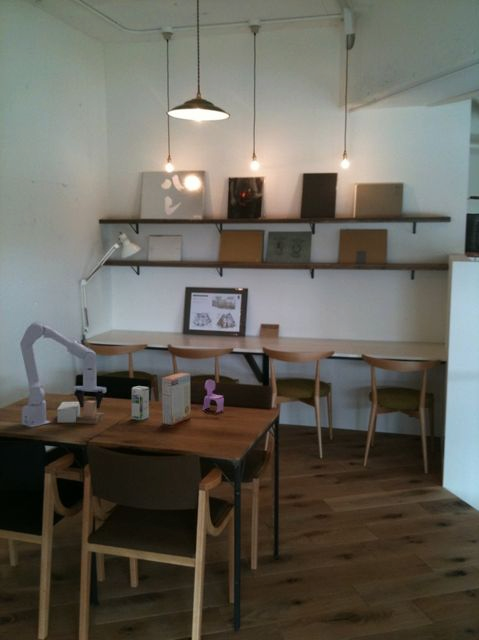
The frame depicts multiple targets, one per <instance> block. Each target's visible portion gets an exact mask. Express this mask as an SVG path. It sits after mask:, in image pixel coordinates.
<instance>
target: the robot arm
mask: <svg viewBox="0 0 479 640" xmlns="http://www.w3.org/2000/svg"><path fill="white" fill-rule="evenodd" d="M41 337H43V339H52V340H54V341H55V342H57V343H59V344H61V345H62V346H64V347H66V350H67V351H66V352H69V353H70V354H72V355H73V356H74V357H76V358H78V359H79V360H80V359H81V360H82V361H83V367H82V383H83V384H82V385H74V386H73V392H74V395H75V396H76V399H77V400H78V401H77V402H79V404H80V409H81V408H84V403H85V402H84V401H85V400H84V398H85V392H87V393H88V392H90V393H95V395H94V396H95V401H96V407H97V409H100V408H101V405H102V404H101V403H102V400H103V397H104V396H105V394H106V393H107V387H105V386H97V361H98V359H97V353H96V352H95V350H93V349H90V347H87V346H85V345H83V344H82V343H81V341H80V340H76V339H75V340H70V339H69V338H68V337H65V336H64V335H63V334H61V333H60V332H58V331H57V330H55V329H54V328H52V327H51V326H49V325H47V324H44V323H43V322H41V321H34V322H32V323H31V324H30V325H29V326H28V327H27V329H25V332H24V334H23V337H22V338H21V341H20V343H19V344H20V350H21V354H22V359H23V362H24V363H23V364H24V367H25V368H24V369H25V373H26V377H27V382H28V391H29V394H28V404H26V405H24V406H23V407H22V410H21V423H20V424H21V425H24V426H25V427H29V428H35V427H38V426H42V425H47V424H51V421H49V420H47V401H46V400H45V395H46V391H45V388H44V387H43V386H42V382H41V379H40V375H39V374H40V373H39V370H38V365H37V361H36V360H37V359H36V357H35V352H34V347H33V345H34V344H35V342H36V341H37V340H39V339H40V338H41Z"/></svg>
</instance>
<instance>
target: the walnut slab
mask: <svg viewBox="0 0 479 640" xmlns="http://www.w3.org/2000/svg"><path fill="white" fill-rule="evenodd" d="M104 419H105V412H97V414H96V415H95V416H93V417H91V416H84V412H83V413H80V415H79V416H78V417H77V421H76V423H78V424H89V425H90V424H92V425H97V424H99V423H100V422H101V421H102V420H104Z"/></svg>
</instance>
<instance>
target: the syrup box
mask: <svg viewBox="0 0 479 640" xmlns="http://www.w3.org/2000/svg"><path fill="white" fill-rule="evenodd" d="M149 399H150V387H149V386H141V385H137V386H133V387H131V419H132V420H136V421H144V420H147V419H149V417H150V415H149V414H150V413H149V411H150V409H149V408H150V406H149V405H150V400H149Z"/></svg>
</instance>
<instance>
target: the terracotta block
mask: <svg viewBox="0 0 479 640" xmlns="http://www.w3.org/2000/svg"><path fill="white" fill-rule="evenodd" d="M83 408H84V410H83V413H84V416H91V417H93V416H95V415H96V414H97V413H98V410H97V407H96V400H86V401H85V402H84V407H83Z"/></svg>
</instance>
